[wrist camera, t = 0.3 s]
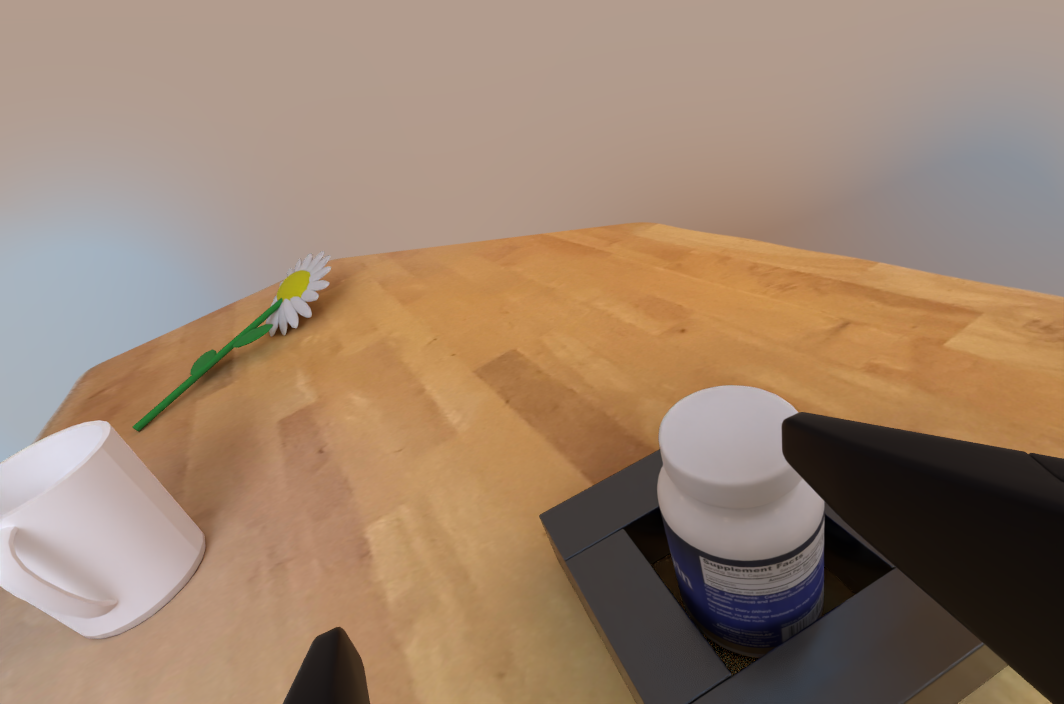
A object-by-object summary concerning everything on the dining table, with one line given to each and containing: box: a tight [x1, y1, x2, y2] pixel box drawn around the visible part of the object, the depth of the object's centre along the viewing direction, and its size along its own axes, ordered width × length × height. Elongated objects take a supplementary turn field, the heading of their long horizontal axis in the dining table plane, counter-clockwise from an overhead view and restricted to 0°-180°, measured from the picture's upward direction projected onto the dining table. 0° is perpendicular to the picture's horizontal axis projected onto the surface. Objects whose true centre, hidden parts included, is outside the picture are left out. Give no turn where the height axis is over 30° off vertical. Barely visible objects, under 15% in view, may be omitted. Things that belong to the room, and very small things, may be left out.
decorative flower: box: [133, 251, 331, 431], centre depth 62 cm, size 13×5×30 cm
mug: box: [0, 420, 206, 639], centre depth 31 cm, size 11×9×10 cm
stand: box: [539, 449, 1008, 704], centre depth 21 cm, size 13×13×4 cm
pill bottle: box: [657, 385, 825, 658], centre depth 20 cm, size 6×6×10 cm
